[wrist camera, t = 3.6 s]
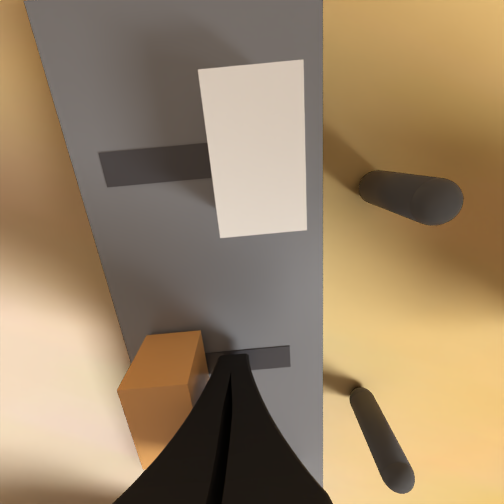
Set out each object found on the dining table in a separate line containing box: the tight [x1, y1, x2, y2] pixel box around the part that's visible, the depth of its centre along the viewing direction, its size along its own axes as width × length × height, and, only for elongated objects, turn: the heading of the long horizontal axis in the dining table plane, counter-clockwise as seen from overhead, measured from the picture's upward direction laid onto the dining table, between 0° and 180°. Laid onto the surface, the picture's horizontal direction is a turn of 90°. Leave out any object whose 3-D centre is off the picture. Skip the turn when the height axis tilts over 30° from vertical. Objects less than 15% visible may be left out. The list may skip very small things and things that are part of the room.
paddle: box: [198, 59, 307, 238], centre depth 8 cm, size 2×4×3 cm, turn 5°
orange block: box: [117, 330, 209, 469], centre depth 11 cm, size 2×4×3 cm, turn 5°
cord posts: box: [350, 170, 463, 494], centre depth 14 cm, size 2×16×6 cm, turn 5°
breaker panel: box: [24, 0, 323, 488], centre depth 15 cm, size 9×28×4 cm, turn 5°
